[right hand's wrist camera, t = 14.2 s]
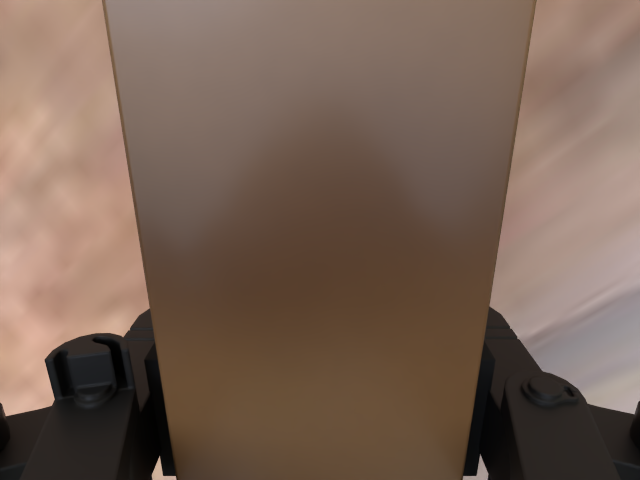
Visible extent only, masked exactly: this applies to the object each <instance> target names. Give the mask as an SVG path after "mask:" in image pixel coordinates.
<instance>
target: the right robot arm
mask: <svg viewBox="0 0 640 480" xmlns="http://www.w3.org/2000/svg"><path fill="white" fill-rule="evenodd" d="M45 363H46V367H47V371H48V375H49V379H50V382H51V386H52V390H53V394H54V398H55V400H54V403H53V405H52V406H50V407H46V408H43V409H38V410H34V411H29V412H24V413H20V414H15V415H10V416H5V413H4V410H3V406H2V404H1V403H0V480H152V473H153V471H154V468H155V466H156V463H157V461H158V458H159V456H160V459H161V465H162V471H163V476H176V472H175V466H174V460H173V453H172V447H171V440H170V434H169V427H168V421H167V415H166V408H165V402H164V395H163V389H162V382H161V376H160V370H159V363H158V357H157V350H156V344H155V337H154V331H153V325H152V318H151V312H150V309H148V310H147V311H145V312H144V313H142V314H141V315H139V317H138V318H137V319H136V321H135V322H134V323H133V325H132V326H131V328H130V331H128V332H127V333H126V335H125V336H124V337H122V336H120V335H115V334H111V333H95V334H91V335H86V336H81V337H78V338H76V339H73V340H71V341H68V342H65V343H64V344H62V345H61V346H59V347H57V348H56V349H54V350H53V351H52V352H51V353H50V354H49V355H48V356H47V358H46V359H45ZM480 454H481V457H482V459H483V462H484V464H485V466H486V469H487V471H488V474H489V475H488V480H640V401H639V402H638V405H637V408H636V411H635V415H634V414H630V413H625V412H620V411H616V410H611V409H606V408H601V407H597V406H594V405H590V404H587V402H586V400H585V398H584V397H583V395H582V394H581V393H580V391H579V390H578V389H577V388H576V387H574V386H573V385H572V384H570V383H569V382H568V381H566V380H564V379H562V378H560V377H558V376H555V375H553V374H550V373H546V372H542V370H541V369H540V367H539V366H538V365H537V363H536V362H535V360H534V359H533V358H532V356H531V355H530V354H529V352H528V351H527V349H526V348H525V347H524V345H523V344H522V343H521V341H520V340H519V339H517V336H516V334H515V333H514V332H513V330H512V329H510V326H509V325H508V323H507V322H506V321H505V319H504V318H503V316H502V315H501V314H500V313H498V312H497V311H495V310H494V309H492V308H491V307H489V311H488V317H487V323H486V330H485V336H484V343H483V349H482V356H481V362H480V369H479V375H478V382H477V388H476V395H475V401H474V408H473V414H472V421H471V427H470V434H469V440H468V447H467V453H466V460H465V466H464V473H463V476H476V475H477V469H478V463H479V457H480Z"/></svg>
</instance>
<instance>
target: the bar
mask: <svg viewBox="0 0 640 480" xmlns="http://www.w3.org/2000/svg"><path fill="white" fill-rule="evenodd" d="M102 3H103V10H104V16H105V23H106V29H107V35H108V42H109V48H110V55H111V61H112V67H113V74H114V80H115V87H116V93H117V100H118V106H119V112H120V119H121V125H122V132H123V138H124V145H125V151H126V157H127V164H128V170H129V177H130V183H131V190H132V196H133V202H134V209H135V215H136V222H137V228H138V235H139V241H140V247H141V254H142V260H143V267H144V273H145V280H146V286H147V292H148V299H149V305H150V312H151V318H152V325H153V331H154V337H155V344H156V350H157V357H158V363H159V370H160V376H161V382H162V389H163V395H164V402H165V408H166V415H167V421H168V427H169V434H170V440H171V447H172V453H173V460H174V466H175V472H176V479H177V480H462V479H463V473H464V466H465V460H466V453H467V447H468V440H469V434H470V427H471V421H472V414H473V408H474V401H475V395H476V388H477V382H478V375H479V369H480V362H481V356H482V349H483V343H484V336H485V330H486V323H487V317H488V311H489V304H490V298H491V291H492V285H493V278H494V272H495V265H496V259H497V252H498V246H499V239H500V233H501V226H502V220H503V213H504V207H505V200H506V194H507V187H508V181H509V174H510V168H511V161H512V155H513V148H514V142H515V135H516V129H517V123H518V116H519V110H520V103H521V97H522V90H523V84H524V77H525V71H526V64H527V58H528V51H529V45H530V38H531V32H532V25H533V19H534V12H535V6H536V0H102Z"/></svg>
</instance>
